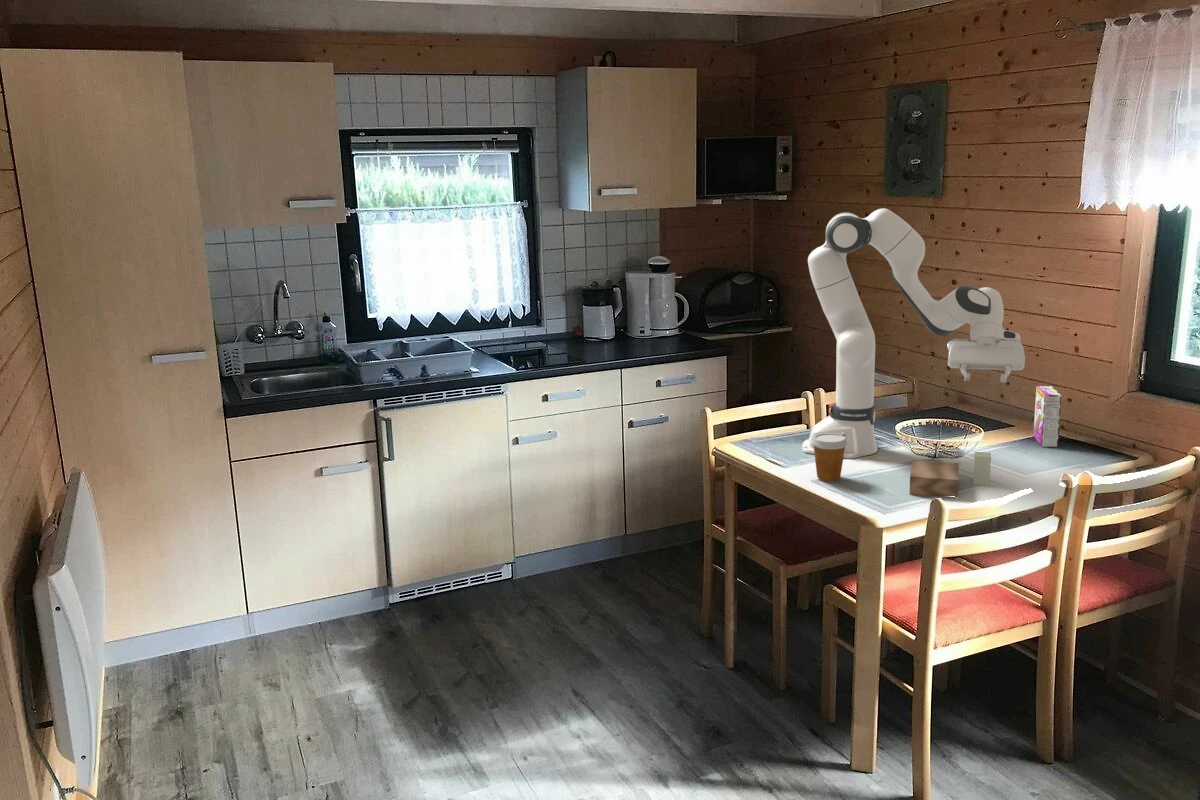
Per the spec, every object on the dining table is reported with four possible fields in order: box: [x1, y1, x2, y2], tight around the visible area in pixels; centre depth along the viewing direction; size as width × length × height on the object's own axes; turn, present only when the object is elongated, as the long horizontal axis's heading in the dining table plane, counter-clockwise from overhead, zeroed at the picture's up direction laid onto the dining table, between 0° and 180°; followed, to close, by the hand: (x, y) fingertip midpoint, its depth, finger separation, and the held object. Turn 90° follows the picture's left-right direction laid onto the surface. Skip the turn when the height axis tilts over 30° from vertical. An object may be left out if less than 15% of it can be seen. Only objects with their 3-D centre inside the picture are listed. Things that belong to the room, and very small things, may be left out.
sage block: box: [972, 451, 992, 486], centre depth 258 cm, size 4×4×8 cm
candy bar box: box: [1032, 385, 1062, 448], centre depth 289 cm, size 11×5×16 cm, turn 168°
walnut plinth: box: [908, 459, 960, 497], centre depth 256 cm, size 12×14×5 cm
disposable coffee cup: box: [812, 433, 847, 482], centre depth 266 cm, size 10×10×12 cm
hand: (985, 380), depth 265 cm, fingers open, 8 cm apart
